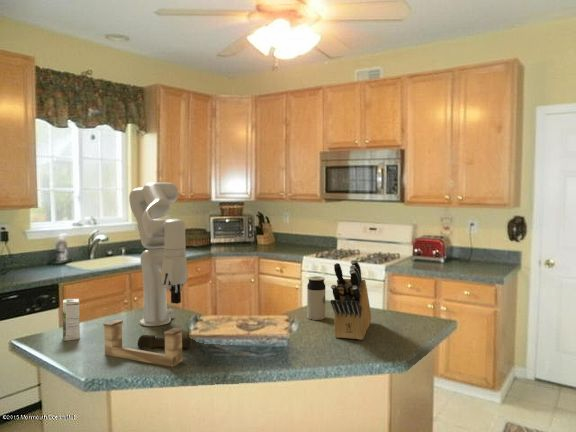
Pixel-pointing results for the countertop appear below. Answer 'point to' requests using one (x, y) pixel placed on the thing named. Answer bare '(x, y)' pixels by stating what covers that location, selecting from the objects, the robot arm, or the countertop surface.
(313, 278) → the travel mug
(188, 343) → the hand tool
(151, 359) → the wooden u-shaped stand
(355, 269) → the knife block
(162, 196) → the robot arm
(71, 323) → the syrup box
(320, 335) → the countertop surface
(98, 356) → the countertop surface
